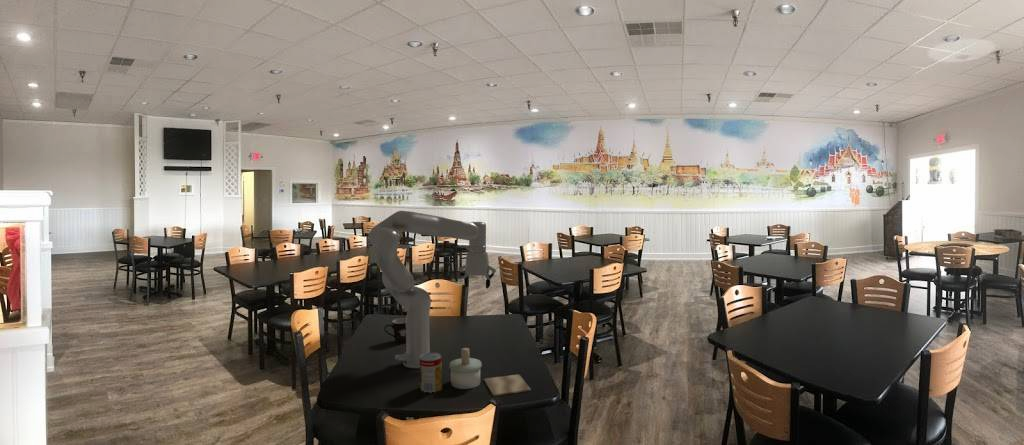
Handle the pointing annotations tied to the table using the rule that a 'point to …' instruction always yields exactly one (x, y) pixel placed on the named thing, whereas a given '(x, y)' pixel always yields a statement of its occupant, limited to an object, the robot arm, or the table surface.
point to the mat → (506, 385)
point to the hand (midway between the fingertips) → (477, 287)
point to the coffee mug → (398, 330)
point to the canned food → (431, 372)
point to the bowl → (465, 379)
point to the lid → (465, 363)
